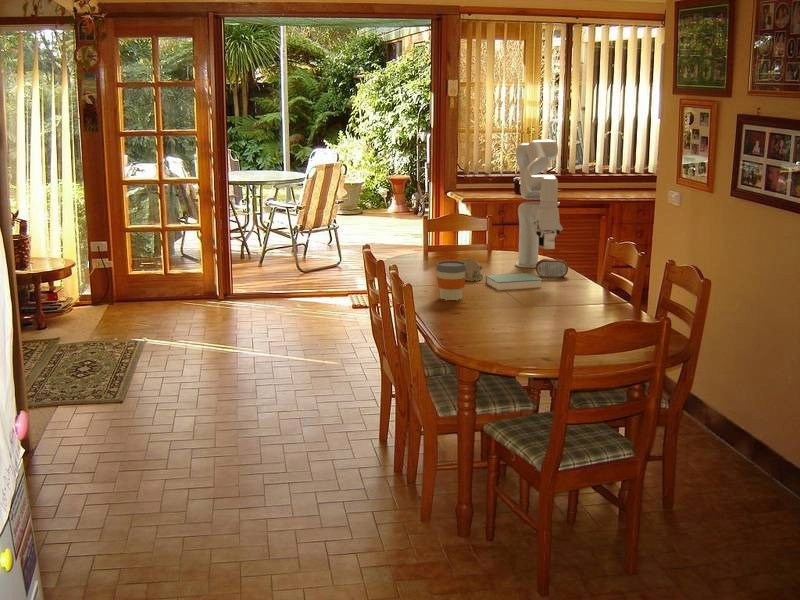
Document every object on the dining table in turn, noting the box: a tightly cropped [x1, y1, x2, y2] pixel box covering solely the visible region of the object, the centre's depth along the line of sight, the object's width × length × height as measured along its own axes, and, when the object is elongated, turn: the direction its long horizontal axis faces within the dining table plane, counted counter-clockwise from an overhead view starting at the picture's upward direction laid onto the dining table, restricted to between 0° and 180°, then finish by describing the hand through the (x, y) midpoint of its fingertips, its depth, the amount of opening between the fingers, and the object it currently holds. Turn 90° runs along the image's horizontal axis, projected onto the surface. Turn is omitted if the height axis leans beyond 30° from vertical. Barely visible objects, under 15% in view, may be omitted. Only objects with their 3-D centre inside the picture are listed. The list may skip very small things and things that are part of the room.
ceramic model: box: [460, 256, 484, 282], centre depth 433 cm, size 14×11×10 cm
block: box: [539, 231, 556, 250], centre depth 420 cm, size 5×5×7 cm
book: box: [485, 272, 543, 291], centre depth 419 cm, size 15×21×4 cm
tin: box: [535, 258, 569, 278], centre depth 436 cm, size 15×3×8 cm, turn 84°
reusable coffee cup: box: [436, 260, 466, 301], centre depth 393 cm, size 13×12×15 cm
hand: (547, 244), depth 421 cm, fingers closed on block, 5 cm apart
